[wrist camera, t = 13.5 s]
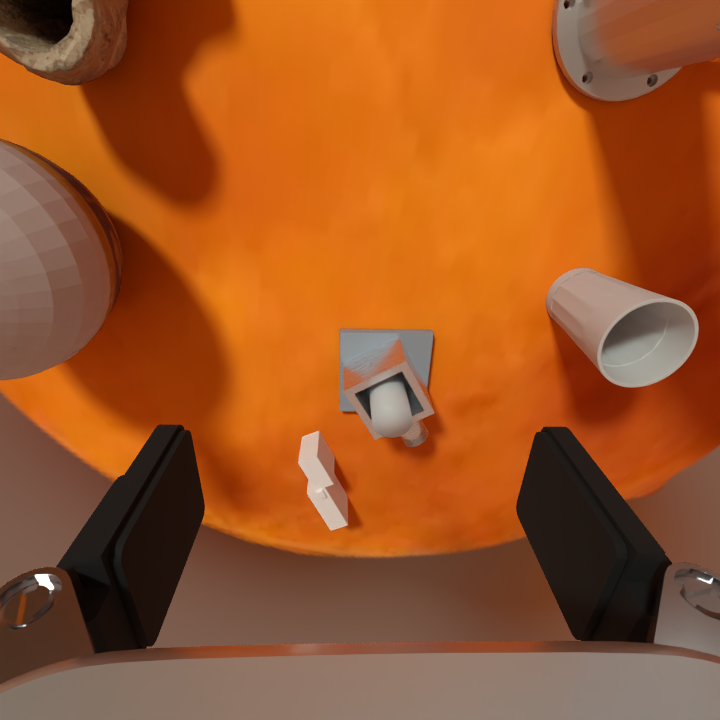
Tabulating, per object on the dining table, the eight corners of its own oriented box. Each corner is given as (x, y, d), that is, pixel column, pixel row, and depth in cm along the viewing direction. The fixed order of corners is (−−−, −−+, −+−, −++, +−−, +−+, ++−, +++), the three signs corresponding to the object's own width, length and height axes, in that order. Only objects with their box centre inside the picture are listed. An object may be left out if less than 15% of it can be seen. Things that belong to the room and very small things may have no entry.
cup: (620, 312, 46) (703, 364, 35) (548, 343, 47) (607, 401, 37) (606, 246, 42) (693, 281, 32) (529, 281, 44) (588, 325, 33)
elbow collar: (343, 362, 46) (343, 391, 41) (398, 335, 45) (405, 360, 40) (385, 429, 51) (390, 463, 45) (437, 406, 49) (448, 438, 44)
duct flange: (431, 330, 46) (452, 374, 37) (423, 407, 51) (439, 463, 42) (340, 328, 46) (338, 373, 37) (339, 406, 50) (338, 463, 41)
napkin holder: (355, 510, 59) (356, 544, 54) (274, 495, 57) (267, 530, 52) (387, 424, 52) (392, 455, 47) (297, 405, 51) (292, 435, 46)
